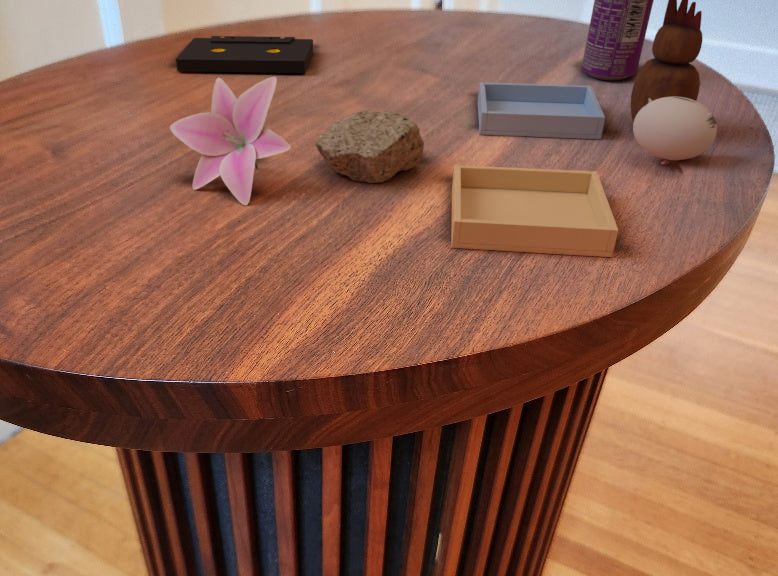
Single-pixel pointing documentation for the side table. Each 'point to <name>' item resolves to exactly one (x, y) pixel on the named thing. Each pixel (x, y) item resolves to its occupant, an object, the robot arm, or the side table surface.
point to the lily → (232, 137)
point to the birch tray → (531, 211)
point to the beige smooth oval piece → (674, 128)
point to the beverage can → (616, 38)
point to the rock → (371, 145)
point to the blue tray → (539, 110)
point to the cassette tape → (246, 54)
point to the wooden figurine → (671, 59)
